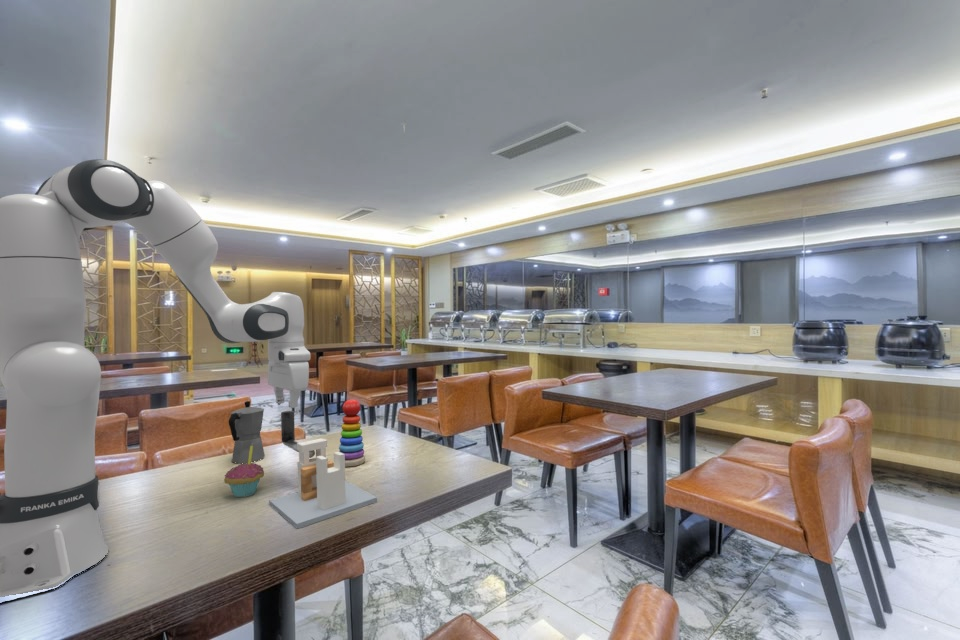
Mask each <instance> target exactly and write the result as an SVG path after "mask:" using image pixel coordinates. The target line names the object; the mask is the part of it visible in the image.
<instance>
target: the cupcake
mask: <svg viewBox="0 0 960 640" xmlns="http://www.w3.org/2000/svg"><path fill="white" fill-rule="evenodd" d="M252 445H253V443H252ZM252 445H251V446H250V451H249V459H248V463H247V464H246V463H243V464H237V466H235V467H232V468H230V470H228V471H227V472H226V473H225V475H224V479H223V483H224V484H227V485H228V486H230V489H231V492H232V493H233V496H234V497H236V498H243V497H248V496H252V495H253V494H255V493H256V491H257V488H258V487H259V486H258V485H259V482H260V480H261V479H262V478H263V477H265V476H264V475H265V472H264V471H265V470H264V467H262V465H260V464H258V463H255V462H253V463H251V458H252V451H253V446H252Z"/></svg>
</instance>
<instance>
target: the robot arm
mask: <svg viewBox="0 0 960 640" xmlns="http://www.w3.org/2000/svg"><path fill="white" fill-rule="evenodd" d="M120 222H121V223H124V224H125V223H126V224H127V225H129V226H131V227H133V228H134V229H136V230H137V231H138V232H139V233H141V235H142V236H143V237H144V238H145V239H146V240H147V241H148V243H149V244H150V245H151V246H152V247H153V249H154V250H155V251H156V252H157V253H158V254H159V255H160V256H161V257H162V258H163V260H164V261H165V262H166V263H167V264H168V266H170V268H171V269H172V271H173V272H174V274H175V276H176V277H177V279H178V281H179V282H180V283H181V285H182V286H183V287H184V288H185V289H186V291H187V292H188V294H189V295H190V296H191V297H192V299H194V301H195V302H196V304H197V305H198V306H199V307H200V308H201V309H202V311H203V312H204V314H205V316H206V317H207V319H208V322H209V326H210V328H211V331H212V332H213V334H214V335H215V337H216V338H217V339H218V340H220V341H221V342H224V343H227V344H239V343H253V342H255V343H256V342H265V341H267V360H268V364H267V365H268V366H267V384H268V386H270V387H273V392H274V395H275V403H276V404H284V403H285V401H286V400H285V399H286V398H285V395H284V390H286V391H289V400H288V407H289V408H290V409H295V408H298V405H299V402H298V401H299V398H300V396H301V392H302V391H306V390H307V389H308V386H309V381H310V380H309V379H310V365H309V362H308V361H310V360H311V356H312V355H311V352H310V351H309V350H308V348H306V346H305V338H304V334H303V333H304V328H305V311H304V310H305V309H304V304H303V299H302V298H301V296H299V295H298V294H295V293H293V292H289V291H282V290H280V291H278V290H276V291H272V292H271V293H270V294H269V295H268V296H266V297H264V298H262V299H260V300H257V301H255V302H254V301H253V302H251V303H244V304H243V303H242V304H240V303H237V302H234V301H232V300H231V299H230V297H228V296H227V294H226V293H225V292H224V290H223V289H222V287H221V286H220V285H219V283H218V282H217V281H216V279H215V278H214V275H213V274H212V271H211V266H212V264H213V263H214V261H215V260H216V258H217V254H218V251H219V243H218V240H217V239H216V237H215V235H214V233H213V231H212V229H211V228H210V227H209V226H208V224H207V223H206V222H205V220H204V219H202V217H201V216H200V215H199V213H198V212H196V210H195V209H194V208H193V207H192V206H191V205H190V203H188V202H187V200H185V199H184V198H183V196H182V195H180V194H179V193H178V192H177V191H176V190H175V189H174V188H173V187H171V186H170V185H169V184H168V183H166V182H164V181H160V180H155V179H154V180H153V179H152V180H146V179H145V178H143V177H141V176H139V175H138V174H136V173H135V172H134V171H132V170H131V169H130V168H129V167H127V166H125V165H123V164H121V163H119V162H116V161H112V160H109V159H101V158H100V159H98V158H96V159H93V158H92V159H86V160H84V161H81V162H78V163H77V164H75V165H70V166H66V167H64V168H62V169H61V170H59V171H57V172H56V173H54V175H52V176H50V177H48V178H47V179H46V180H44V182H42V183H41V185H39V187H38V189H37V191H36V192H35V193H34V194H33V193H14V194H10V195H5V196H3V197H1V198H0V383H1V384H2V386H3V387H4V389H5V390H6V414H5V415H6V416H5V417H6V419H5V422H6V423H5V438H4V444H3V446H4V447H3V451H4V452H3V453H4V455H3V457H4V493H1V492H0V597H5V596H9V595H16V594H23V593H28V592H33V591H39V590H43V589H49V588H53V587H56V586H58V585H59V584H61V583H62V582H64V581H65V580H67V579H68V578H69V577H70V576H72V575H73V574H75V573H77V572H79V571H81V570H83V569H85V568H86V567H89V566H91V565H93V564H95V563H96V562H98V561H99V560H101V559H102V558H103V557H105V555H106V554H107V553H108V554H109V552H108V549H109V547H108V545H107V543H106V541H105V539H104V534H103V531H102V528H101V523H100V518H99V512H98V511H99V510H98V509H99V507H100V503H101V489H100V488H101V486H100V481H99V476H98V474H96V445H95V444H96V441H95V440H96V426H97V425H96V424H97V420H98V412H99V403H100V393H101V392H100V391H101V378H102V368H101V364H100V361H99V359H98V358H97V356H96V355H95V354H94V353H93V352H92V351H91V350H89V349H88V348H86V347H85V346H86V344H85V329H86V328H85V326H86V325H85V323H86V308H87V301H86V300H87V299H86V290H85V289H86V288H85V279H84V271H83V264H82V255H81V249H80V243H81V242H80V241H81V235H82V233H83V231H89V230H94V229H97V228H103V227H104V228H105V227H109V226H112V225H115V224H118V223H120ZM108 554H107V555H108ZM105 558H106V557H105Z"/></svg>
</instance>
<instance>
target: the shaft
mask: <svg viewBox="0 0 960 640" xmlns="http://www.w3.org/2000/svg"><path fill="white" fill-rule="evenodd" d="M280 417H281V418H280V420H281V421H280V422H281V423H280V427H281V430H280V431H281V432H280V433H281V435H280V436H281V443H283V445H284V446H286V447H287V448H289V449H292V450H293V451H295V452H298V453H299V451H298V450H297V443H299V441H296V435H295V433H296V432H295V431H296V430H295V429H296V428H295V411H294V410H286V411H282V412H280ZM314 456H316V450H312V451H309V459H312V458H314Z"/></svg>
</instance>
